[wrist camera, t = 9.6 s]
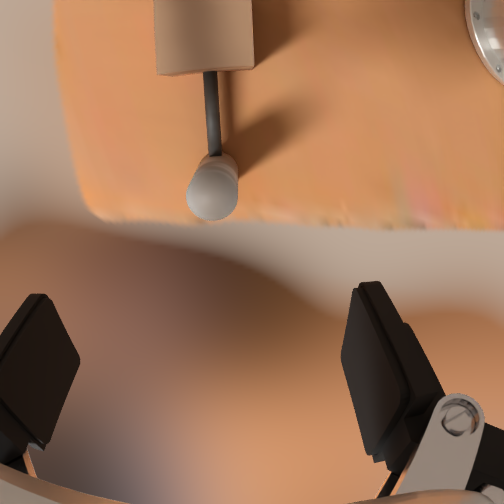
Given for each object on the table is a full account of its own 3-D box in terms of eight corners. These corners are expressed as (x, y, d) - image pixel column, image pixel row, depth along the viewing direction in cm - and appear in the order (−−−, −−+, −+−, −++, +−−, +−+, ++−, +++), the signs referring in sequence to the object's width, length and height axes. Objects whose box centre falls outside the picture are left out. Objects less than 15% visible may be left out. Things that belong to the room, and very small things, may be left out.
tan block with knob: (248, 0, 18) (251, -27, 13) (256, 186, 26) (261, 218, 20) (169, 7, 18) (147, -15, 13) (184, 191, 26) (168, 223, 20)
